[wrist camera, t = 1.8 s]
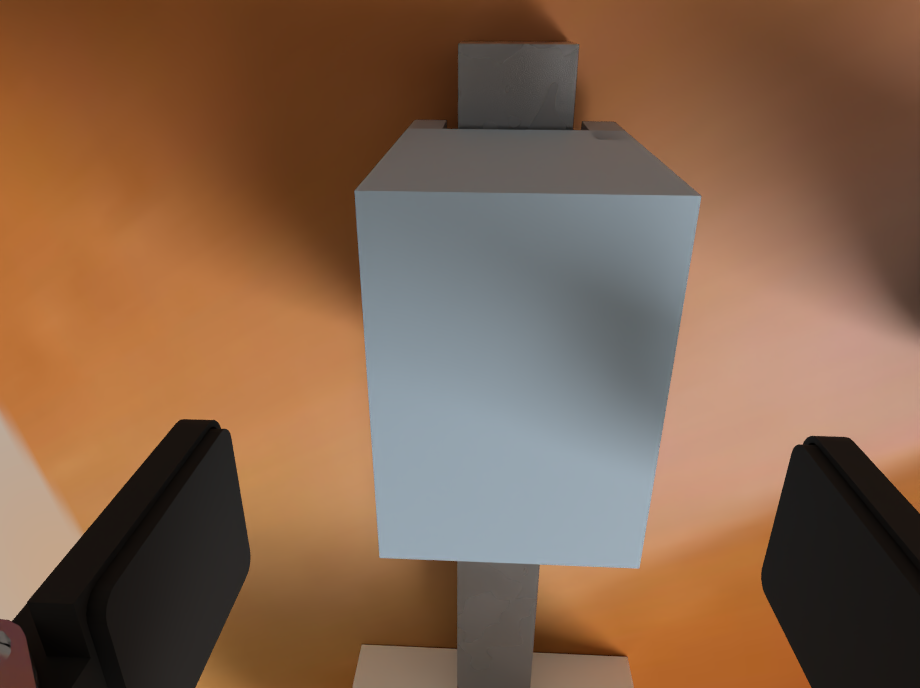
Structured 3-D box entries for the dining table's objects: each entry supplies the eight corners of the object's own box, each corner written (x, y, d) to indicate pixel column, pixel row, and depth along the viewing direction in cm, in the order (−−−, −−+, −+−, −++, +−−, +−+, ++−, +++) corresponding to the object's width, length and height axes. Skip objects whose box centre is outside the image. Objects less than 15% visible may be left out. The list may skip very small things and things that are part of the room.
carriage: (414, 119, 18) (354, 190, 11) (614, 121, 18) (701, 196, 10) (421, 368, 22) (379, 557, 14) (588, 373, 22) (639, 568, 14)
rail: (462, 40, 19) (458, 43, 16) (569, 41, 18) (579, 44, 16) (460, 648, 30) (457, 700, 27) (526, 652, 29) (528, 703, 27)
